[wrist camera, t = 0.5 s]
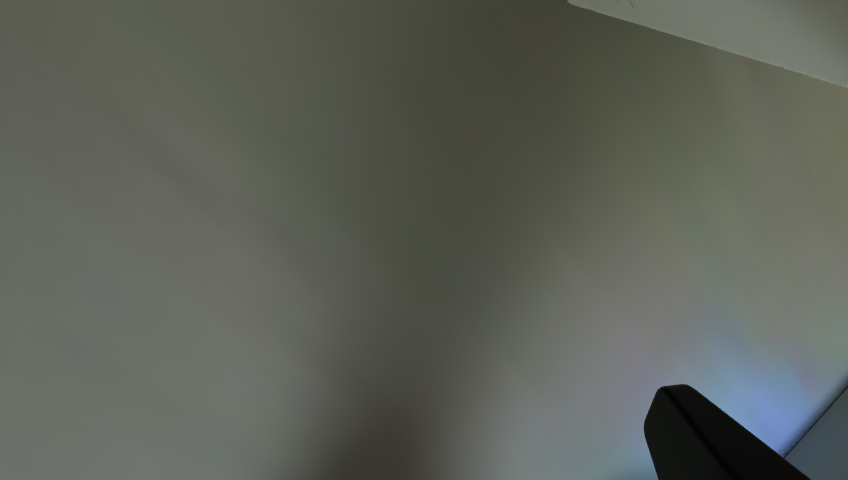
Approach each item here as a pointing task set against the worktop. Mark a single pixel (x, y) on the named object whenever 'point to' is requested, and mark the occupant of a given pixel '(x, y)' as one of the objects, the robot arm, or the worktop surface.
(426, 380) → the worktop surface
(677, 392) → the robot arm
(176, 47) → the worktop surface
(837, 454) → the tray
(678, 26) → the skincare box
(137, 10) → the worktop surface
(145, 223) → the worktop surface
